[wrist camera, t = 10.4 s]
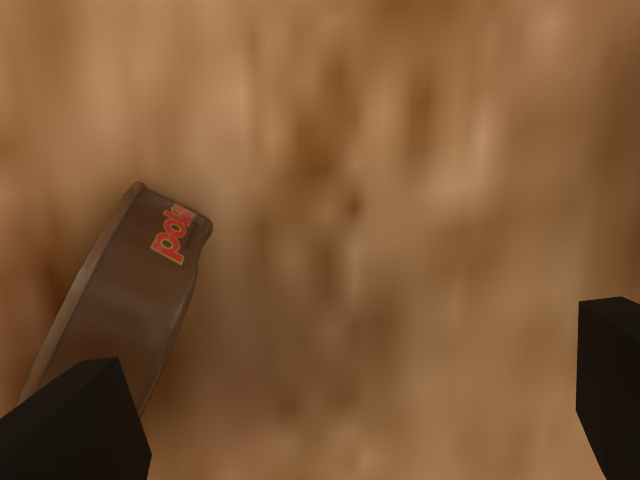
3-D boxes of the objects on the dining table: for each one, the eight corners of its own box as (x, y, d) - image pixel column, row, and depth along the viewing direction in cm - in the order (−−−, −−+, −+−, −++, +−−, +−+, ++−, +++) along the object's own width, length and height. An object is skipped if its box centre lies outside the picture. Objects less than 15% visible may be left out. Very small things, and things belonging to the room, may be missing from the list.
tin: (161, 144, 18) (35, 258, 11) (250, 189, 19) (191, 329, 11) (25, 457, 24) (-123, 682, 16) (97, 485, 24) (-13, 716, 17)
